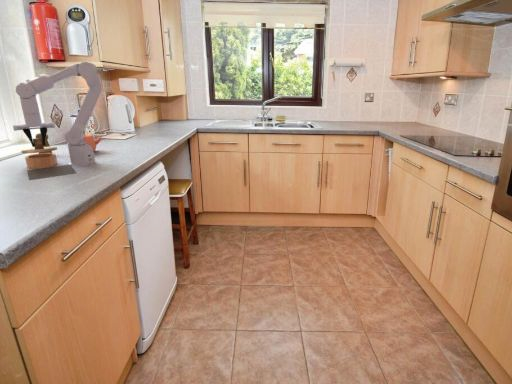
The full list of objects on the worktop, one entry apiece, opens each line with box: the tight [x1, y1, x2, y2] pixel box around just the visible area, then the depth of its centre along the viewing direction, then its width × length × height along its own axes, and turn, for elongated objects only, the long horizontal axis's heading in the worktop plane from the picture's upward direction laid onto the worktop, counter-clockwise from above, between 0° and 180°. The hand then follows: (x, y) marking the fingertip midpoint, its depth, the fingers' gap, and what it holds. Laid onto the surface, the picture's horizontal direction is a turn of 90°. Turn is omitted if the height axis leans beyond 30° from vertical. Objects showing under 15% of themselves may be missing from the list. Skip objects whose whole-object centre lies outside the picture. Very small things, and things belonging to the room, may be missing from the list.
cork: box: [35, 132, 53, 153], centre depth 160 cm, size 6×6×11 cm
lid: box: [20, 137, 58, 154], centre depth 139 cm, size 13×13×5 cm
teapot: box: [62, 133, 103, 152], centre depth 167 cm, size 14×12×10 cm
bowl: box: [24, 152, 58, 169], centre depth 142 cm, size 11×11×4 cm
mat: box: [26, 164, 77, 181], centre depth 133 cm, size 16×17×1 cm
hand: (38, 146), depth 139 cm, fingers closed on lid, 3 cm apart
